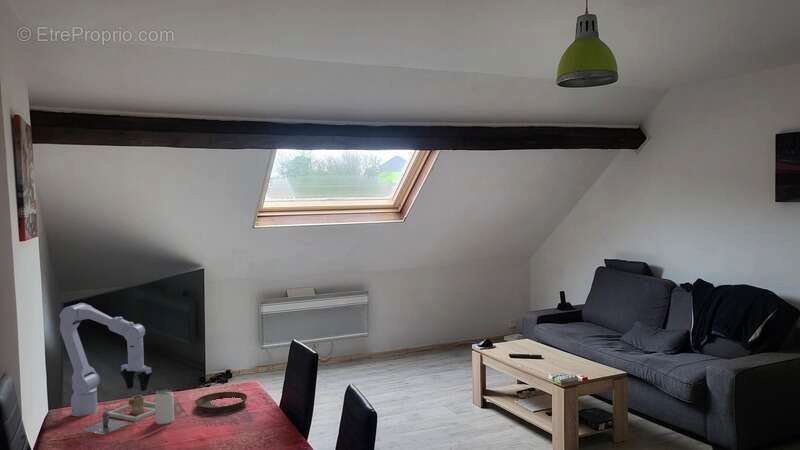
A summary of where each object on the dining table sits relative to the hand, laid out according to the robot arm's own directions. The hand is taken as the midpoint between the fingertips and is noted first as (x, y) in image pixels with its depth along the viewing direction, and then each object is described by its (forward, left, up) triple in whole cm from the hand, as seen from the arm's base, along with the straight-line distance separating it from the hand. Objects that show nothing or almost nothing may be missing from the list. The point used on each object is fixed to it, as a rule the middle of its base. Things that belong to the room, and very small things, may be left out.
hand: (136, 389), depth 236 cm
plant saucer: (+25, +20, -10) cm, 34 cm away
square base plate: (+2, -16, -10) cm, 19 cm away
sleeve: (0, 0, -9) cm, 9 cm away
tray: (0, 0, -10) cm, 10 cm away
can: (+18, -3, -10) cm, 21 cm away
